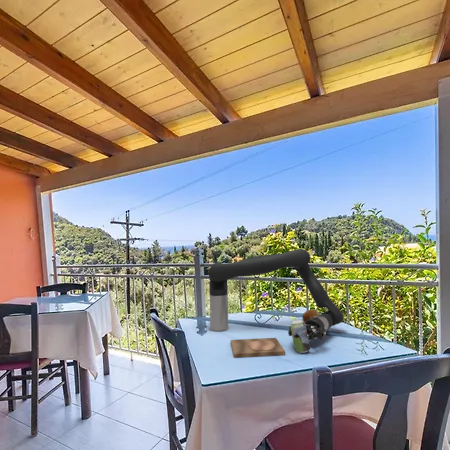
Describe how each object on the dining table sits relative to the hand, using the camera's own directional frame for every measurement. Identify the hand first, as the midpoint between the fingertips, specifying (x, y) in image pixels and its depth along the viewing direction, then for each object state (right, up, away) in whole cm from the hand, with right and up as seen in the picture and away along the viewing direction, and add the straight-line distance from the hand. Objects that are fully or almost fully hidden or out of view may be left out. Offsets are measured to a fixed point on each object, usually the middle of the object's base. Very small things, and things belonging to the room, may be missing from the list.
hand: (299, 335), depth 122 cm
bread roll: (+17, -8, +42) cm, 46 cm away
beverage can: (+1, -7, 0) cm, 7 cm away
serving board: (-17, -7, +4) cm, 18 cm away
